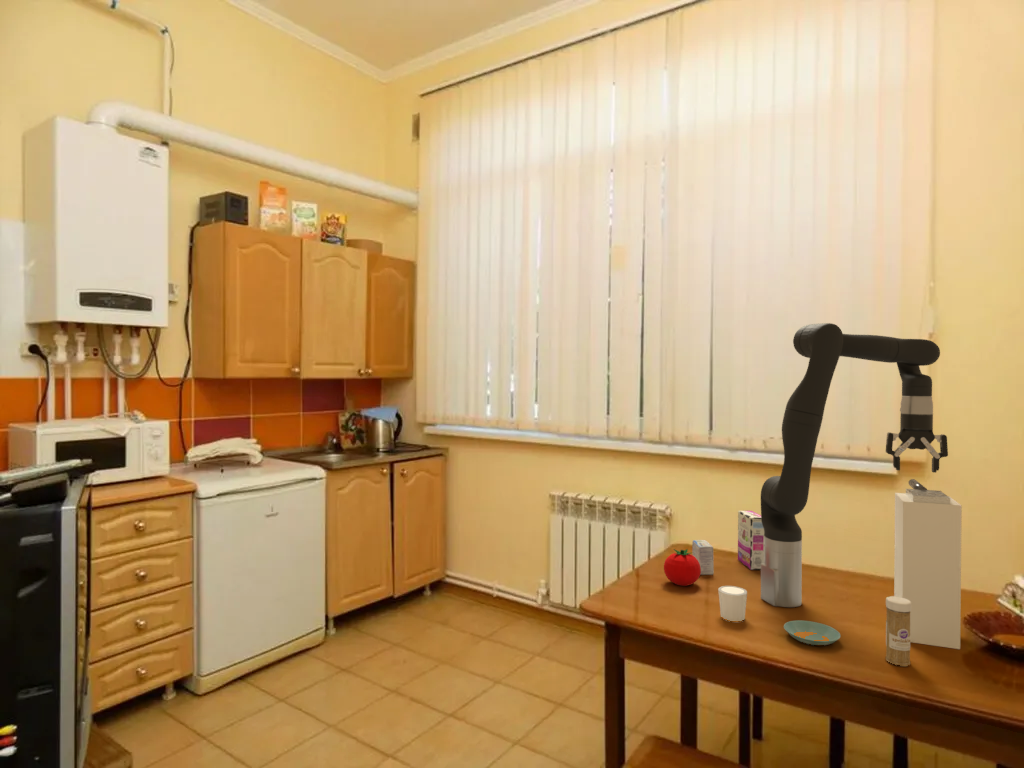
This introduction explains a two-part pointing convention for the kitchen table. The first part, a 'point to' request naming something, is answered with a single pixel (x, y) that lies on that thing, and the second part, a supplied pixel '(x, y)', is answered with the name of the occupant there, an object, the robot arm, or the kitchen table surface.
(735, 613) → the white cup
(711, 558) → the medicine box
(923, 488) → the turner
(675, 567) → the tomato
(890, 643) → the sprinkles bottle
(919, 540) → the stand
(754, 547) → the candy bar box
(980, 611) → the kitchen table surface
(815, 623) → the saucer
